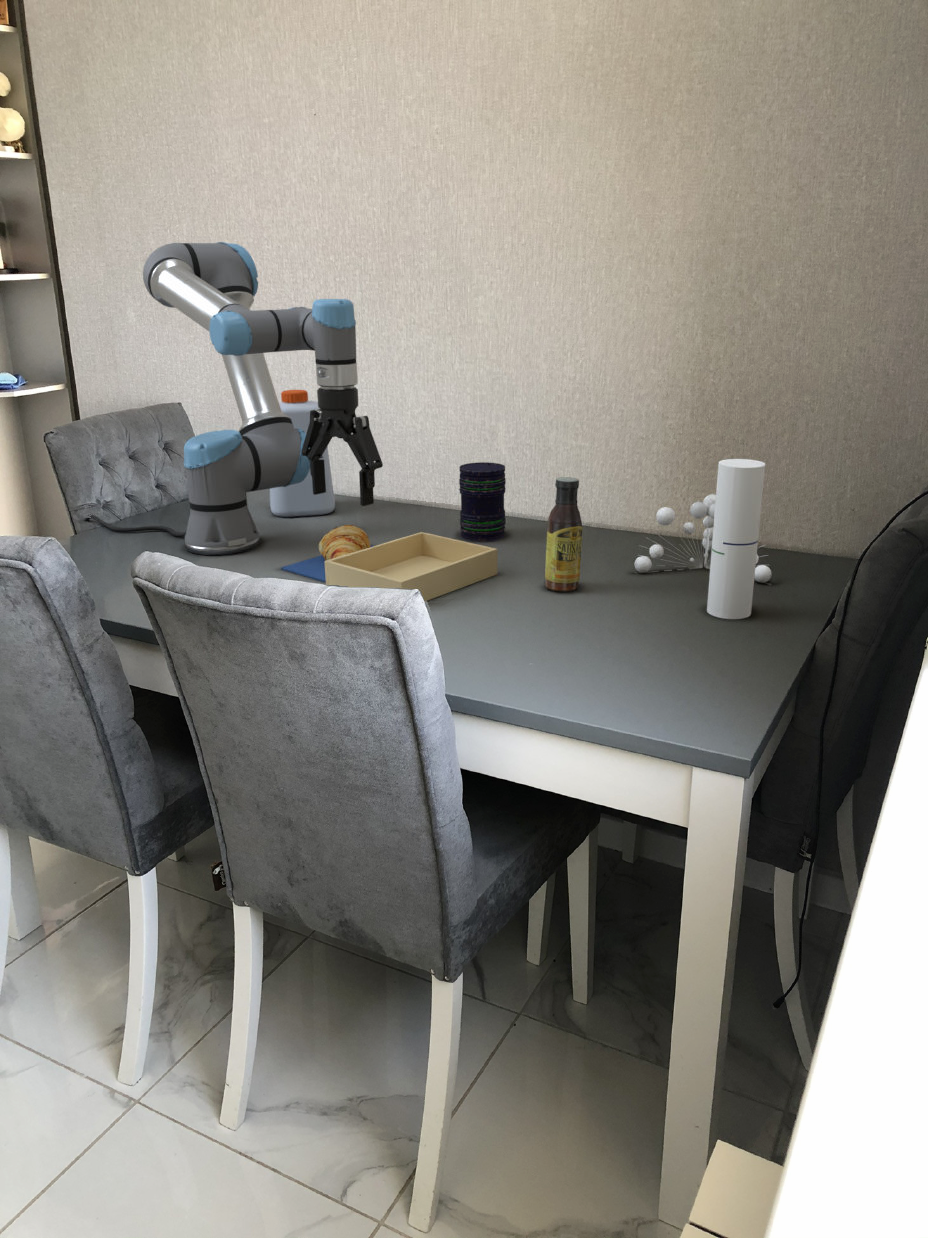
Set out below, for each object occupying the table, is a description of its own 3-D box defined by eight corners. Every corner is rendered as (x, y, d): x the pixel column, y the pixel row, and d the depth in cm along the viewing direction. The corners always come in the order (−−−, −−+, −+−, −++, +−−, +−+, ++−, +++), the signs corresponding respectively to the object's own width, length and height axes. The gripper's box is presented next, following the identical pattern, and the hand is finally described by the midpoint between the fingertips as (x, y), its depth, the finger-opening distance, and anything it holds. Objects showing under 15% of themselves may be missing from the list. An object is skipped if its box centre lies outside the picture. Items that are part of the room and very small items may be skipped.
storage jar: (490, 544, 202) (490, 473, 197) (451, 538, 207) (449, 468, 202) (513, 533, 210) (514, 464, 205) (475, 527, 215) (474, 460, 210)
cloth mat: (280, 569, 187) (280, 567, 187) (363, 544, 203) (363, 542, 203) (329, 583, 179) (328, 581, 179) (411, 556, 194) (411, 554, 194)
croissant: (361, 592, 183) (379, 556, 181) (312, 570, 180) (329, 533, 178) (361, 558, 203) (377, 524, 200) (316, 538, 200) (332, 504, 198)
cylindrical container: (743, 622, 157) (757, 469, 148) (700, 614, 160) (712, 465, 152) (756, 609, 163) (770, 461, 154) (714, 602, 166) (726, 457, 157)
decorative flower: (609, 555, 193) (612, 485, 188) (713, 547, 198) (718, 479, 193) (658, 594, 170) (663, 516, 166) (774, 584, 175) (782, 508, 170)
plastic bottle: (271, 519, 224) (261, 396, 214) (270, 504, 238) (260, 388, 228) (336, 515, 227) (329, 393, 217) (332, 500, 241) (324, 386, 231)
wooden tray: (325, 587, 177) (324, 561, 175) (422, 555, 195) (421, 531, 193) (402, 610, 165) (401, 582, 163) (497, 574, 183) (497, 548, 181)
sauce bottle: (556, 595, 171) (559, 484, 164) (538, 585, 176) (539, 477, 169) (587, 589, 173) (591, 480, 167) (568, 580, 179) (571, 473, 172)
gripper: (278, 383, 184) (286, 492, 192) (369, 395, 169) (373, 513, 176) (308, 379, 189) (315, 485, 197) (399, 390, 174) (402, 505, 182)
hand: (342, 499), depth 187 cm, fingers open, 13 cm apart
